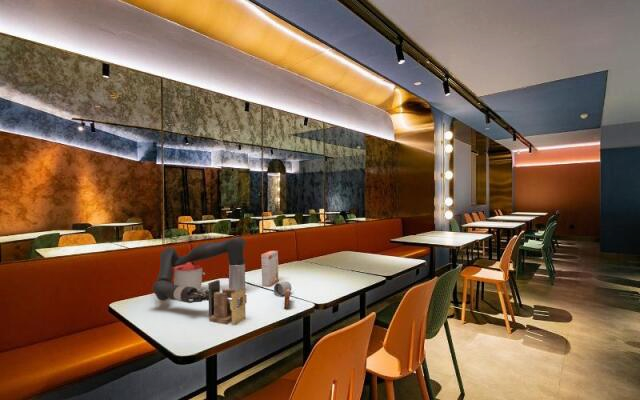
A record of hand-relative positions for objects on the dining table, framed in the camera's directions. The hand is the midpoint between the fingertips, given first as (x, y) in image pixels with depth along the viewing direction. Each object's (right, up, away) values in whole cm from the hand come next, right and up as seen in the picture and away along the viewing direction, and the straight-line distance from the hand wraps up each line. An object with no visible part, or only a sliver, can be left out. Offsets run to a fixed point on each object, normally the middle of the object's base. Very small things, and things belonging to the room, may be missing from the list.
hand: (212, 298), depth 151 cm
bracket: (+7, -9, -3) cm, 11 cm away
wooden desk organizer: (+7, -8, -3) cm, 11 cm away
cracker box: (+19, -8, +57) cm, 61 cm away
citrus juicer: (-25, -9, +32) cm, 42 cm away
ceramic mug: (+29, -8, +34) cm, 45 cm away
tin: (+34, -9, +15) cm, 39 cm away
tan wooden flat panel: (+14, -9, -6) cm, 17 cm away
